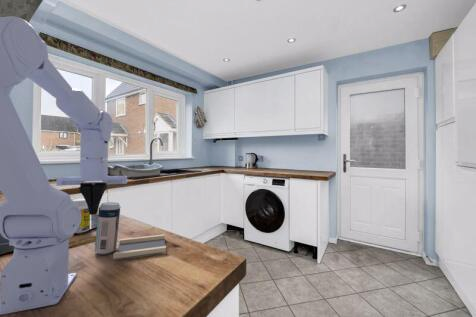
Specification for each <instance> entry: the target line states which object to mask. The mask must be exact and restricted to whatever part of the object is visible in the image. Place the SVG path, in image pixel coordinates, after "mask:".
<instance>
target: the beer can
mask: <svg viewBox="0 0 476 317" xmlns="http://www.w3.org/2000/svg"><path fill="white" fill-rule="evenodd" d="M120 215H121V206H120V203H119V202H110V201H107V202H103V203H101V204H100V205H99V208H98V213H97V223H96V232H95V233H96V234H95V236H96V240H95V241H94V242H95V243H94V253H96V254H97V255H98V254H99V255H108V254H111V253H114V251H115V252H116V251H117V247H118V246H117V245H118V234H119V223H120Z"/></svg>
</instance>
